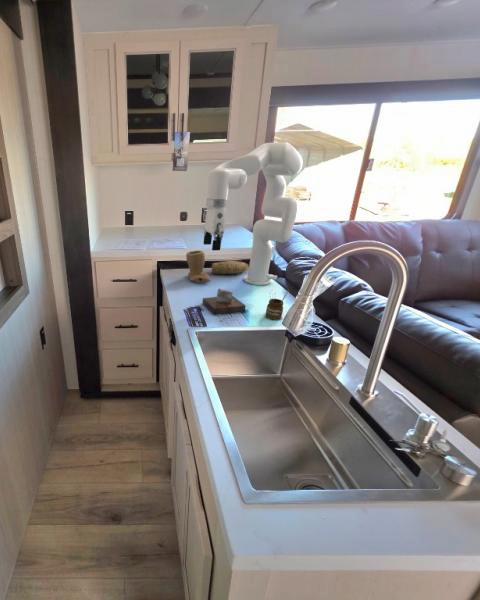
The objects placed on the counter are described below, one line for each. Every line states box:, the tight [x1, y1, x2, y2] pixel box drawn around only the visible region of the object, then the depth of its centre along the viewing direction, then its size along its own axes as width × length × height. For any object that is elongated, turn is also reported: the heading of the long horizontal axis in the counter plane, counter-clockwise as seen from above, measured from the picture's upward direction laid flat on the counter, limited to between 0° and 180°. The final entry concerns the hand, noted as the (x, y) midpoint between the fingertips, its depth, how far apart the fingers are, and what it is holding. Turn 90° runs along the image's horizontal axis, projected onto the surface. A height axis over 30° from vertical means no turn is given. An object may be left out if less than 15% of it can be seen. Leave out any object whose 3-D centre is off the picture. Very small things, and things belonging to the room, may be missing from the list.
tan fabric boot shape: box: [185, 250, 211, 284], centre depth 164 cm, size 15×12×15 cm
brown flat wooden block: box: [202, 295, 246, 316], centre depth 133 cm, size 14×11×3 cm
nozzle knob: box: [216, 288, 234, 303], centre depth 132 cm, size 6×2×5 cm, turn 72°
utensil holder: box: [265, 289, 289, 321], centre depth 124 cm, size 6×6×12 cm
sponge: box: [211, 260, 249, 275], centre depth 175 cm, size 13×8×20 cm
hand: (211, 247), depth 128 cm, fingers open, 9 cm apart
